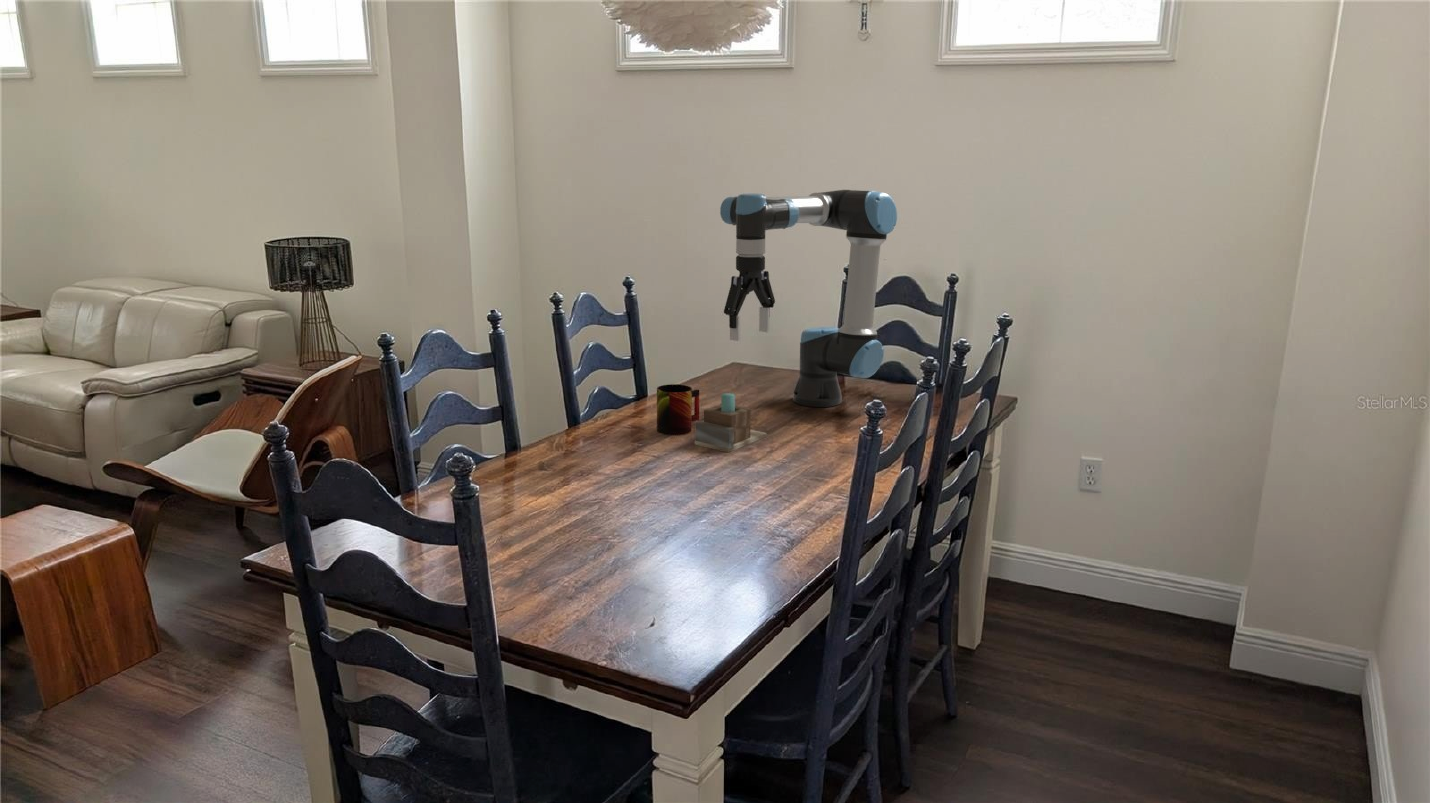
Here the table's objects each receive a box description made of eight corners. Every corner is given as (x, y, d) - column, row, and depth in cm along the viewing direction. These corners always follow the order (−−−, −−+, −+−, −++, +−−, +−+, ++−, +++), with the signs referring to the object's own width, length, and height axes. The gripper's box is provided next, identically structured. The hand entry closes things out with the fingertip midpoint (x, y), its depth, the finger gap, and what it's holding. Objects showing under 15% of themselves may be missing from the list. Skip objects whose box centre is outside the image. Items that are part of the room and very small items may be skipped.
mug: (699, 423, 286) (700, 382, 282) (686, 436, 273) (686, 394, 270) (667, 420, 288) (667, 379, 285) (652, 433, 275) (652, 391, 272)
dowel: (725, 435, 270) (726, 392, 267) (736, 437, 268) (737, 394, 265) (718, 438, 268) (718, 395, 265) (729, 441, 266) (729, 397, 263)
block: (722, 431, 274) (723, 403, 272) (750, 437, 269) (751, 408, 267) (703, 439, 267) (703, 410, 265) (731, 445, 262) (731, 415, 260)
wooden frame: (733, 429, 280) (733, 408, 278) (766, 436, 274) (767, 415, 272) (694, 444, 266) (694, 422, 264) (728, 452, 259) (729, 430, 258)
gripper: (765, 249, 270) (764, 326, 276) (709, 259, 251) (710, 342, 256) (788, 251, 266) (787, 329, 271) (734, 261, 246) (734, 345, 252)
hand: (749, 336), depth 264 cm, fingers open, 13 cm apart
